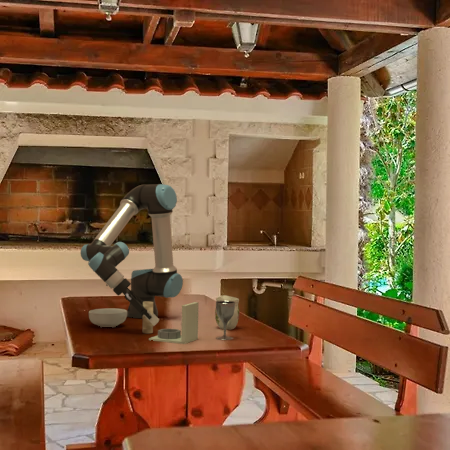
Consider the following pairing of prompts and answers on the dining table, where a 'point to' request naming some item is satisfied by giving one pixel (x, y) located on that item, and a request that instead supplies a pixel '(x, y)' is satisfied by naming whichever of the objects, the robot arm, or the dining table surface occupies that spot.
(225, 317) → the wine glass
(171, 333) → the bracket
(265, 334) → the dining table surface
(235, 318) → the pitcher
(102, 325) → the cereal bowl
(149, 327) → the beige mottled cylinder
